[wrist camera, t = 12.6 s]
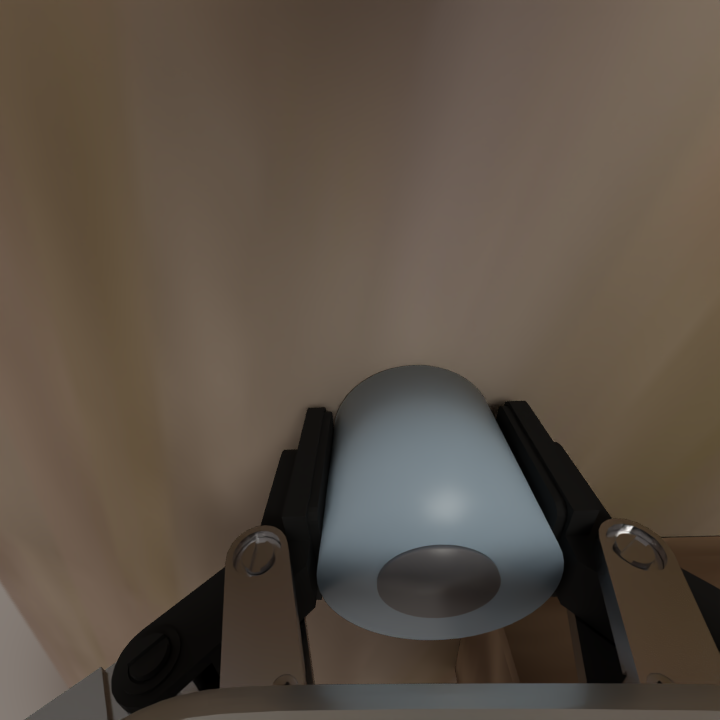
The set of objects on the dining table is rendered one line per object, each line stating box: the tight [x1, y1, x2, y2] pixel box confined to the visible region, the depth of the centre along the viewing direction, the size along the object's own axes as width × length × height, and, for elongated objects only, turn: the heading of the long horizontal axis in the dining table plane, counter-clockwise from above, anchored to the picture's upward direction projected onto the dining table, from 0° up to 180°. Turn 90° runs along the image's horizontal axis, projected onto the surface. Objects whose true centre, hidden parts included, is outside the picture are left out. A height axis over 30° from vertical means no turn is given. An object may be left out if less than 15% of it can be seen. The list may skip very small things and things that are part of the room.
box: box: [455, 536, 720, 684], centre depth 14 cm, size 12×16×7 cm
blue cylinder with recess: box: [317, 365, 564, 640], centre depth 10 cm, size 5×5×5 cm
